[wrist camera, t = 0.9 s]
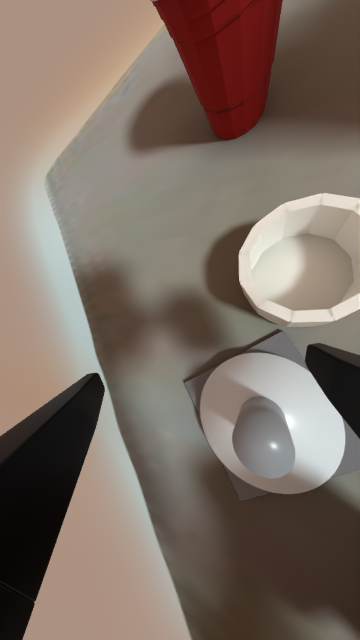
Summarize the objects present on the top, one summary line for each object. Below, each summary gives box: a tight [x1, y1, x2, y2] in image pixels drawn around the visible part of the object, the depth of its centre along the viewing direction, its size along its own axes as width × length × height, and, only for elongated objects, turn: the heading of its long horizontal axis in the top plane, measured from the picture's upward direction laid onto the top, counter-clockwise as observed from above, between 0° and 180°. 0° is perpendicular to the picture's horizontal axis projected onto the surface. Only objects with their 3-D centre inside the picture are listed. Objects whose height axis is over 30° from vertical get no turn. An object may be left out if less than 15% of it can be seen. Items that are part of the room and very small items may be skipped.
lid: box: [200, 353, 345, 494], centre depth 14 cm, size 11×11×5 cm
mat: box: [185, 331, 360, 501], centre depth 16 cm, size 11×11×1 cm
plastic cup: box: [151, 0, 282, 140], centre depth 16 cm, size 11×11×12 cm
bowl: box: [239, 193, 360, 327], centre depth 15 cm, size 9×9×4 cm
